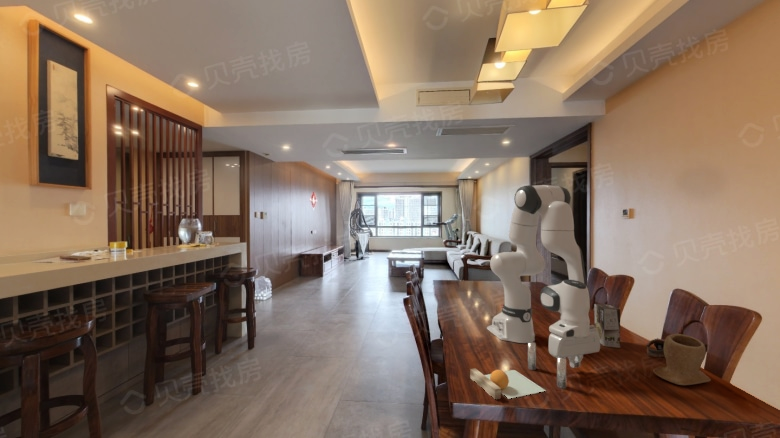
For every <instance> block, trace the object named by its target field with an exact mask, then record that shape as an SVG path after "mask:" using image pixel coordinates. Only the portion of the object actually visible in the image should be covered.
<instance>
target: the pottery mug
mask: <svg viewBox="0 0 780 438" xmlns="http://www.w3.org/2000/svg"><path fill="white" fill-rule="evenodd" d="M664 341H665V339H663V338H658V337H657V338H654V339H651V340H648V341H647V343H646V354H647V356H648V357H649V356H650V357H656V358H659V357H660V358H663V357H664V358H665V356H664V349H663V348H664ZM652 345H653V346H654V347H655V349H654V348H651V346H652Z"/></svg>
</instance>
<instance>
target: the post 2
mask: <svg viewBox="0 0 780 438" xmlns="http://www.w3.org/2000/svg"><path fill="white" fill-rule="evenodd" d="M556 387H558V388H559V389H562V390H565V389H567V357H565V358H564V357H561V356H558V357H557V358H556Z"/></svg>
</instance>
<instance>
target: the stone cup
mask: <svg viewBox="0 0 780 438" xmlns="http://www.w3.org/2000/svg"><path fill="white" fill-rule="evenodd" d="M664 340H665V341H664V348H663V349H664V356H665V357H664V359H665V361H666V366H660V367H656V368H654V369H653V370H652V372H653V373H654V374H655V375H656V376H658V377H659V378H660V379H663V380H665V381H667V382H668V383H671V384H675V385H678V386H691V385H698V384H699V385H700V384H704V383H709V382H711V380H712V379H711V377H710V376H708V375H706V374H705V372H704V371H702V370H700V367H701V365H702V364H703V362H704V360H705V358H706V354H707V352H706V346H705V344H704V343H703V342H702V341H701V340H699V339H698V338H695V337H693V336H691V335H688V334H687V335H686V334H683V333H672V334H669V335H667V336H666V337H665V339H664Z"/></svg>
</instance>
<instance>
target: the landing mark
mask: <svg viewBox="0 0 780 438" xmlns="http://www.w3.org/2000/svg"><path fill="white" fill-rule="evenodd" d="M504 372H505V373H506V375H507V376H508V379H509V383H508V386H507V387H506V388H505V389H502V390H501V395H502V396H504V395H505V396H506V397H507V399H508V400H511V398H512V399H517V398H520V397H521V398H522V397H525V396H526V395H527V396H530V394H531V395H535V394H540V393H539V392H541V393H545V392H547V390H546V389H545V388H543V387H541V386H539V385H538V384H537V383H535V382H533V381H532V380H530V379H529V378H528V377H526V376H525V375H523V374H521V372H518V371H517V370H515V369H511V370H505V371H504ZM483 375H484V376H486V377H487V378H488V379H490V376H491V373H489V374H483ZM544 391H545V392H544ZM505 396H504V397H505ZM506 397H505V398H506ZM516 397H517V398H516Z"/></svg>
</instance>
